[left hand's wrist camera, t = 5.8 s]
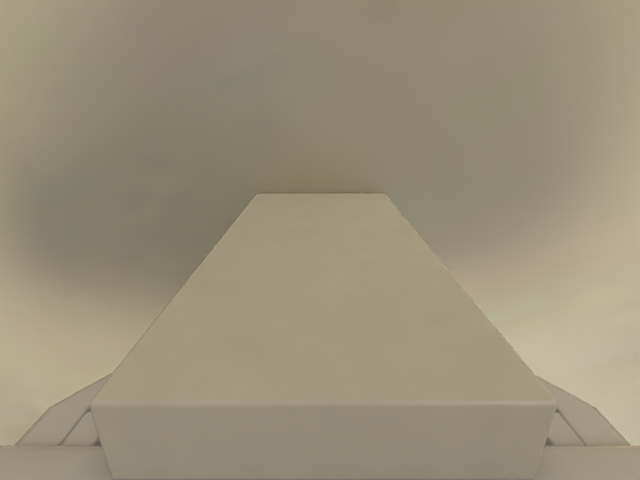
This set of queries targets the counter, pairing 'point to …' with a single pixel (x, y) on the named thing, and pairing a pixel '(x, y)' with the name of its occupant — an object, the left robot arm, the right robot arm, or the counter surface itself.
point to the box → (322, 360)
